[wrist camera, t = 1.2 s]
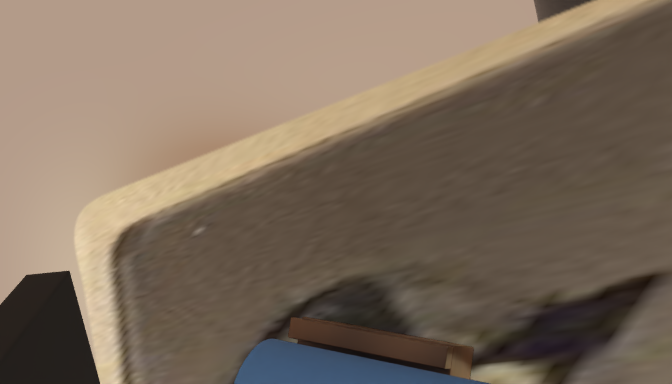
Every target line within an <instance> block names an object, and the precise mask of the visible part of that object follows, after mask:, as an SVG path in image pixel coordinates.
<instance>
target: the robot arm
mask: <svg viewBox="0 0 672 384" xmlns="http://www.w3.org/2000/svg"><path fill="white" fill-rule="evenodd" d="M0 384H100V381H99V377H98V374H97V370H96V366H95V363H94V359H93V355H92V352H91V348H90V345H89V341H88V337H87V334H86V330H85V326H84V323H83V319H82V315H81V312H80V308H79V305H78V301H77V297H76V293H75V290H74V286H73V282H72V279H71V275H70V272H69V271H62V272H52V273H42V274H32V275H26V276H25V277H24V278H23V280H22V281H21V282H20V283H19V284H18V285H17V286H16V288H15V289H14V290H13V291H12V292H11V293H10V294H9V296H8V297H7V298H6V299H5V300H4V301H3V302H2V303H1V305H0Z"/></svg>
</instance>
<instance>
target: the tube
mask: <svg viewBox="0 0 672 384" xmlns="http://www.w3.org/2000/svg"><path fill="white" fill-rule="evenodd" d="M234 384H489V383H485V382H480V381H475V380H470V379H465V378H460V377H456V376H451V375H446V374H441V373H436V372H431V371H427V370H422V369H417V368H412V367H407V366H403V365H398V364H393V363H388V362H383V361H378V360H374V359H369V358H364V357H359V356H354V355H350V354H345V353H340V352H335V351H330V350H325V349H321V348H316V347H311V346H306V345H301V344H297V343H292V342H287V341H282V340H277V339H267V340H264V341H262V342H261V343H259V344H258V345H257V346H256V347H255V348H254V349H253V350H252V351H251V352H250V353H249V355H248V356H247V358H246V359H245V361H244V362H243V364H242V366H241V368H240V370H239V372H238V374H237V376H236V379H235V382H234Z"/></svg>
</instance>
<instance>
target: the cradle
mask: <svg viewBox="0 0 672 384" xmlns="http://www.w3.org/2000/svg"><path fill="white" fill-rule="evenodd" d="M288 337H289V338H293V339H298V343H297V344H301V345H306V346H311V347H316V348H321V349H325V350H330V351H335V352H340V353H345V354H350V355H354V356H359V357H364V358H369V359H374V360H378V361H383V362H388V363H393V364H398V365H403V366H407V367H412V368H417V369H422V370H427V371H431V372H436V373H441V374H446V375H451V376H456V377H460V378H465V379H470V374H471V367H472V359H473V351H474V347H471V346H465V345H460V344H454V343H449V342H444V341H438V340H433V339H427V338H422V337H417V336H411V335H406V334H400V333H395V332H390V331H384V330H379V329H374V328H368V327H363V326H357V325H352V324H347V323H341V322H335V321H328V320H321V319H314V318H307V317H302V319H301V318H293V317H292V318H291V323H290V328H289V333H288Z"/></svg>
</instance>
